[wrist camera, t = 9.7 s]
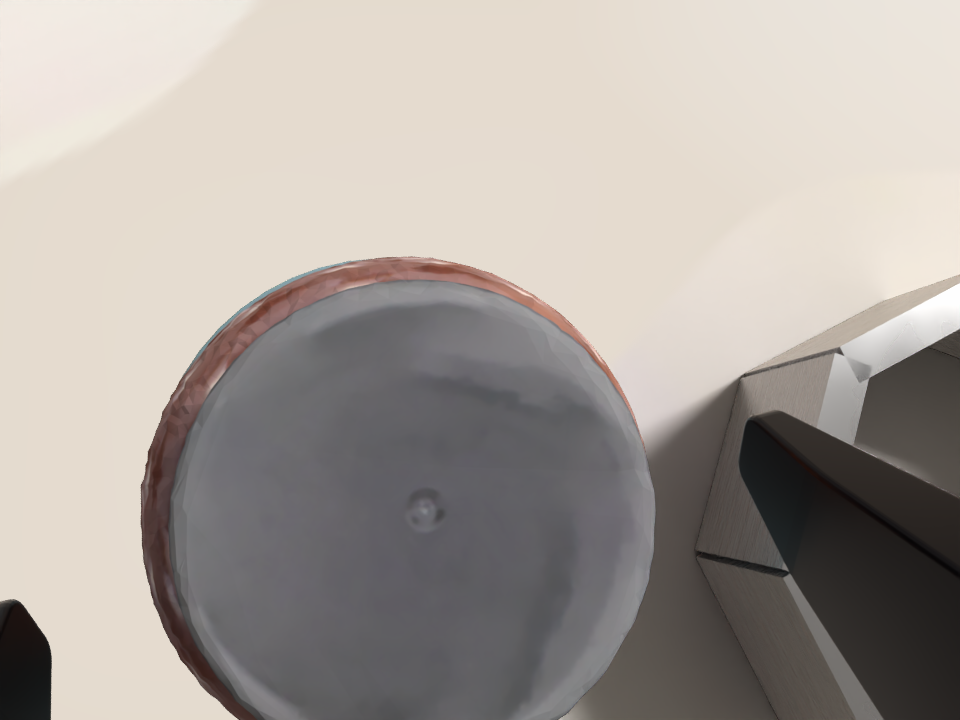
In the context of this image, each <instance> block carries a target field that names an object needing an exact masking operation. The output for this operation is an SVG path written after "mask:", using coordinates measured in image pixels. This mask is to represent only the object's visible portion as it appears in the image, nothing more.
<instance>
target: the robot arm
mask: <svg viewBox="0 0 960 720" xmlns="http://www.w3.org/2000/svg"><path fill="white" fill-rule="evenodd" d="M738 465H739V471H740V474H741V477H742V479H743V481H744V483H745V485H746V487H747V489H748V491H749V493H750V495H751V497H752V499H753V501H754V503H755V505H756V507H757V509H758V511H759V513H760V515H761V517H762V519H763V521H764V523H765V525H766V527H767V529H768V531H769V533H770V535H771V537H772V539H773V541H774V543H775V545H776V547H777V549H778V551H779V553H780V555H781V557H782V559H783V561H784V563H785V565H786V567H787V569H788V571H789V572H790V574H791V576H792V578H793V579H794V581H795V583H796V584H797V586H798V588H799V589H800V591H801V592H802V594H803V596H804V597H805V599H806V600H807V602H808V603H809V605H810V606H811V608H812V610H813V611H814V613H815V614H816V616H817V617H818V619H819V620H820V622H821V624H822V625H823V627H824V628H825V630H826V631H827V633H828V634H829V636H830V638H831V639H832V641H833V642H834V644H835V645H836V647H837V648H838V650H839V652H840V653H841V655H842V656H843V658H844V659H845V661H846V662H847V664H848V666H849V667H850V669H851V670H852V672H853V673H854V675H855V676H856V678H857V679H858V681H859V683H860V684H861V686H862V687H863V689H864V690H865V692H866V693H867V695H868V697H869V698H870V700H871V701H872V703H873V704H874V706H875V707H876V709H877V711H878V712H879V714H880V715H881V717H882V718H883V720H960V497H958V496H956V495H954V494H952V493H950V492H947V491H945V490H943V489H941V488H939V487H937V486H935V485H933V484H931V483H929V482H927V481H925V480H923V479H921V478H919V477H917V476H915V475H913V474H911V473H909V472H906V471H904V470H902V469H900V468H898V467H896V466H894V465H892V464H890V463H888V462H886V461H884V460H882V459H880V458H878V457H876V456H874V455H872V454H870V453H868V452H865V451H863V450H861V449H859V448H857V447H855V446H853V445H851V444H849V443H847V442H845V441H843V440H841V439H839V438H837V437H835V436H833V435H831V434H829V433H827V432H824V431H822V430H820V429H818V428H816V427H814V426H812V425H810V424H808V423H806V422H804V421H802V420H800V419H798V418H796V417H794V416H792V415H790V414H788V413H786V412H783V411H780V410H770V411H766V412H762V413H758V414H754V415H751V416H749V417H748V419H747V420H746V421H745V425H744V430H743V436H742V441H741V447H740V453H739V458H738ZM51 659H52V658H51V650H50V646H49V643H48V641H47V639H46V637H45V636H44V634H43V633H42V631H41V630H40V628H39V627H38V626H37V624H36V623H35V621H34V620H33V618H32V617H31V616H30V614H29V613H28V611H27V610H26V608H25V607H24V606H23V605H22V604H21V602H19V601H17V600H14V599H13V600H5V601H2V602H0V720H51V668H52V663H51V662H52V660H51Z"/></svg>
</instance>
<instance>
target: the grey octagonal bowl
mask: <svg viewBox="0 0 960 720" xmlns="http://www.w3.org/2000/svg"><path fill="white" fill-rule="evenodd" d="M925 347H930V348H932V349H935V350H938V351H941V352H943V353H946V354H949V355H951V356H954V357H957V358H959V359H960V275H957V276H954V277H952V278H949V279H946V280H943V281H940V282H937V283H934V284H931V285H928V286H925V287H923V288H920V289H917V290H914V291H911V292H908V293H905V294H902V295H899V296H897V297H894V298H891V299H888V300H885V301H882V302H880V303H879V304H877V305H875V306H873V307H871V308H869V309H867V310H865V311H863V312H861V313H859V314H857V315H856V316H854V317H852V318H850V319H848V320H846V321H844V322H842V323H840V324H838V325H836V326H834V327H833V328H831V329H829V330H827V331H825V332H823V333H821V334H819V335H817V336H815V337H813V338H811V339H810V340H808V341H806V342H804V343H802V344H800V345H798V346H796V347H794V348H792V349H790V350H788V351H787V352H785V353H783V354H781V355H779V356H777V357H775V358H773V359H771V360H769V361H767V362H765V363H764V364H762V365H760V366H758V367H756V368H754V369H752V370H750V371H748V372H746V373H745V375H746V377H744V378H741V379H740V383H739V387H738V390H737V394H736V398H735V402H734V405H733V409H732V413H731V417H730V420H729V424H728V428H727V431H726V435H725V439H724V443H723V446H722V450H721V454H720V458H719V461H718V465H717V469H716V473H715V476H714V480H713V484H712V487H711V491H710V495H709V499H708V502H707V506H706V510H705V514H704V517H703V521H702V525H701V529H700V532H699V536H698V540H697V543H696V547H695V550H697V551H700V552H703V553H701V554H700V555H698V556H696V559H697V561H698V563H699V564H700V566H701V568H702V570H703V572H704V574H705V576H706V578H707V580H708V582H709V584H710V586H711V588H712V590H713V592H714V594H715V596H716V598H717V600H718V602H719V604H720V606H721V608H722V610H723V612H724V613H725V615H726V617H727V619H728V621H729V623H730V625H731V627H732V629H733V631H734V633H735V635H736V637H737V639H738V641H739V643H740V645H741V647H742V649H743V651H744V653H745V655H746V657H747V659H748V661H749V662H750V664H751V666H752V668H753V670H754V672H755V674H756V676H757V678H758V680H759V682H760V684H761V686H762V688H763V690H764V692H765V694H766V696H767V698H768V700H769V702H770V704H771V706H772V708H773V710H774V711H775V713H776V715H777V717H778V719H779V720H883V718H882V717H881V715H880V714H879V712H878V711H877V709H876V707H875V706H874V704H873V703H872V701H871V700H870V698H869V697H868V695H867V693H866V692H865V690H864V689H863V687H862V686H861V684H860V683H859V681H858V679H857V678H856V676H855V675H854V673H853V672H852V670H851V669H850V667H849V666H848V664H847V662H846V661H845V659H844V658H843V656H842V655H841V653H840V652H839V650H838V648H837V647H836V645H835V644H834V642H833V641H832V639H831V638H830V636H829V634H828V633H827V631H826V630H825V628H824V627H823V625H822V624H821V622H820V620H819V619H818V617H817V616H816V614H815V613H814V611H813V610H812V608H811V606H810V605H809V603H808V602H807V600H806V599H805V597H804V596H803V594H802V592H801V591H800V589H799V588H798V586H797V584H796V583H795V581H794V579H793V578H792V576H791V574H790V572H789V571H788V569H787V567H786V565H785V563H784V561H783V559H782V557H781V555H780V553H779V551H778V549H777V547H776V545H775V543H774V541H773V539H772V537H771V535H770V533H769V531H768V529H767V527H766V525H765V523H764V521H763V519H762V517H761V515H760V513H759V511H758V509H757V507H756V505H755V503H754V501H753V499H752V497H751V495H750V493H749V491H748V489H747V487H746V485H745V483H744V481H743V479H742V477H741V474H740V471H739V465H738V458H739V453H740V447H741V441H742V436H743V430H744V425H745V421H746V420H747V419H748V417H749V416H751V415H754V414H758V413H762V412H766V411H770V410H780V411H783V412H786V413H788V414H790V415H792V416H794V417H796V418H798V419H800V420H802V421H804V422H806V423H808V424H810V425H812V426H814V427H816V428H818V429H820V430H822V431H824V432H827V433H829V434H831V435H833V436H835V437H837V438H839V439H841V440H843V441H845V442H847V443H849V444H851V445H854V441H855V436H856V432H857V428H858V424H859V419H860V415H861V411H862V407H863V402H864V398H865V394H866V390H867V386H868V381H869V378H870V377H872V376H874V375H876V374H878V373H879V372H881V371H883V370H885V369H887V368H889V367H890V366H892V365H894V364H896V363H898V362H900V361H902V360H903V359H905V358H907V357H909V356H911V355H913V354H914V353H916V352H918V351H920V350H922V349H924V348H925Z"/></svg>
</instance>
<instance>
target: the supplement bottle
mask: <svg viewBox="0 0 960 720" xmlns="http://www.w3.org/2000/svg"><path fill="white" fill-rule="evenodd" d="M655 517H656V507H655V492H654V488H653V484H652V480H651V476H650V472H649V466H648V460H647V456H646V451H645V447H644V443H643V440H642V437H641V435H640V433H639V429H638V426H637V423H636V420H635V416H634V414H633V411H632V409H631V407H630V405H629V403H628V401H627V399H626V397H625V395H624V393H623V391H622V389H621V387H620V385H619V383H618V382H617V380H616V379H615V377H614V376H613V374H612V373H611V371H610V369H609V368H608V366H607V365H606V363H605V362H604V360H603V359H602V358H601V357H600V355H599V354H598V353H597V351H596V350H595V349H594V348H593V346H592V345H591V344H590V342H589V341H588V340H587V339H586V338H585V337H584V336H583V335H582V334H581V333H580V332H579V331H578V330H577V329H576V328H575V327H574V326H573V325H572V324H571V323H570V322H569V321H567V320H566V319H565V318H564V317H563V316H562V315H561V314H560V313H559V312H557V311H556V310H554V309H553V308H552V307H550V306H549V305H548V304H546V303H545V302H543V301H542V300H540V299H539V298H537V297H536V296H534V295H533V294H531V293H529V292H527V291H525V290H523V289H522V288H520V287H518V286H516V285H514V284H512V283H510V282H509V281H506V280H504V279H502V278H500V277H498V276H496V275H494V274H492V273H489V272H485V271H481V270H479V269H476V268H473V267H470V266H465V265H461V264H457V263H453V262H447V261H442V260H437V259H433V258H420V257H387V258H376V259H369V260H362V261H354V262H349V263H346V264H343V265H338V266H333V267H331V268H328V269H324V270H321V271H317V272H314V273H312V274H309V275H307V276H304V277H302V278H300V279H297V280H295V281H293V282H291V283H289V284H287V285H285V286H283V287H281V288H280V289H278V290H276V291H274V292H272V293H270V294H268V295H267V296H265V297H264V298H262V299H260V300H259V301H257V302H255V303H254V304H253V305H252V306H250V307H249V308H247V309H246V310H244V311H243V312H241V313H240V314H238V315H237V316H236V317H235V318H234V319H233V320H232V321H231V322H230V323H229V324H228V325H227V326H226V327H225V328H223V329H222V330H221V331H220V332H219V333H218V334H217V335H216V336H215V337H214V338H213V340H212V341H211V342H210V343H209V344H208V345H207V347H206V348H205V350H204V351H203V352H202V353H201V355H200V356H199V357H198V358H197V359H196V360H195V361H194V362H193V364H192V365H191V367H190V369H189V370H188V371H187V372H186V374H185V375H184V376H183V377H182V379H181V380H180V382H179V384H178V386H177V388H176V390H175V391H174V393H173V394H172V395H171V398H170V401H169V403H168V404H167V406H166V407H165V409H164V411H163V412H162V418H161V421H160V423H159V426H158V428H157V430H156V433H155V436H154V439H153V442H152V444H151V446H150V449H149V451H148V461H147V463H146V472H145V476H144V480H143V482H142V484H141V528H142V548H143V559H144V565H145V569H146V574H147V579H148V582H149V585H150V589H151V595H152V598H153V601H154V605H155V607H156V609H157V611H158V613H159V616H160V619H161V622H162V624H163V628H164V630H165V632H166V634H167V636H168V638H169V639H170V642H171V643H172V645H173V646H174V647H175V649H176V650H177V653H178V655H179V657H180V660H181V661H182V662H183V663H184V664H185V665H186V666H187V667H188V669H189V670H190V671H191V673H192V674H193V675H194V676H195V677H196V678H197V680H198V682H199V683H200V685H201V686H202V687H203V688H204V689H205V690H206V691H207V692H208V693H209V694H210V695H212V696H213V697H215V698H216V699H217V700H218V701H219V702H220V703H221V704H222V705H223V706H224V707H225V708H226V709H227V710H228V711H229V712H230V713H231V714H233V715H234V716H235V717H236V718H237V719H239V720H558V719H560V718H561V717H563V716H564V715H566V714H567V713H568V712H569V711H570V710H571V709H572V708H573V707H574V705H575V704H576V703H577V702H578V701H579V700H580V699H581V697H582V696H583V695H584V694H585V693H586V692H587V691H588V690H589V689H591V688H592V687H593V686H594V685H595V684H596V683H597V681H598V680H599V679H600V678H601V677H602V676H603V674H604V673H605V672H606V671H607V669H608V667H609V665H610V663H611V662H612V660H613V658H614V656H615V655H616V653H617V651H618V649H619V648H620V646H621V644H622V642H623V641H624V639H625V637H626V635H627V634H628V632H629V630H630V629H631V627H632V625H633V624H634V622H635V620H636V617H637V613H638V610H639V607H640V605H641V602H642V600H643V597H644V594H645V591H646V588H647V585H648V581H649V576H650V567H651V563H652V558H653V554H654V525H655Z"/></svg>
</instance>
